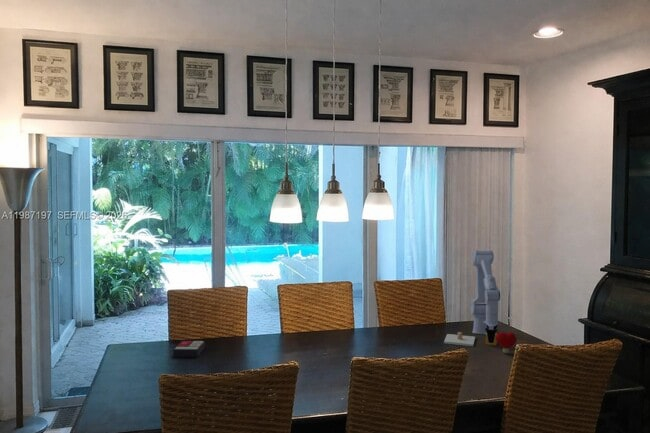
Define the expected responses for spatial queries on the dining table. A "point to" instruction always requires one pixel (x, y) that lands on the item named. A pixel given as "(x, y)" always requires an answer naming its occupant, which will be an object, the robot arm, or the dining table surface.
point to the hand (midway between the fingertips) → (491, 340)
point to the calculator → (189, 349)
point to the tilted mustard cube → (493, 342)
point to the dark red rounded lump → (506, 340)
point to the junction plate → (459, 339)
